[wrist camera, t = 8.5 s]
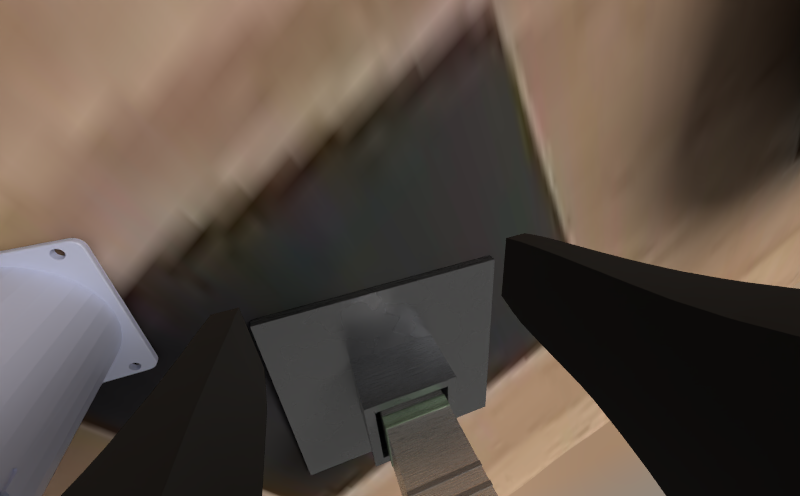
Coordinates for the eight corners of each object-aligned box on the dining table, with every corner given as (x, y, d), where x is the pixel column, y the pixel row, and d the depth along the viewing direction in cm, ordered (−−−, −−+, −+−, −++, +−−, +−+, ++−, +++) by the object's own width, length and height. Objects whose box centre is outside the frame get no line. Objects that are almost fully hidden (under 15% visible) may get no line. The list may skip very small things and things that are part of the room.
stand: (310, 467, 28) (316, 532, 24) (250, 320, 20) (246, 381, 16) (481, 400, 31) (511, 447, 28) (489, 255, 24) (532, 291, 20)
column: (384, 440, 23) (431, 593, 16) (377, 403, 21) (428, 559, 14) (438, 419, 24) (504, 554, 17) (437, 381, 22) (510, 518, 15)
